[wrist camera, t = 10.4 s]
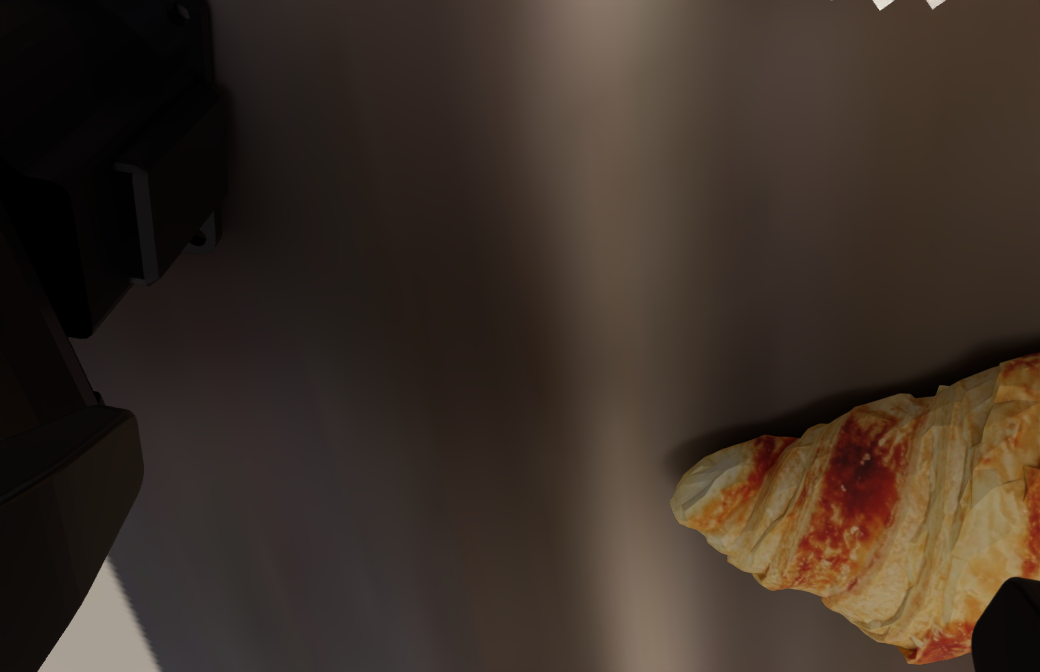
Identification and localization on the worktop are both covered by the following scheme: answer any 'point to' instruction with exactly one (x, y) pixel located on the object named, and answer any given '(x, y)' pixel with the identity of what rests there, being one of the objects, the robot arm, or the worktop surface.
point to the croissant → (889, 508)
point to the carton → (884, 0)
